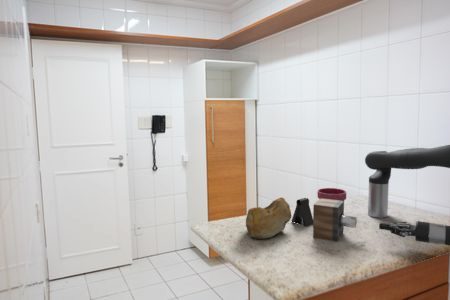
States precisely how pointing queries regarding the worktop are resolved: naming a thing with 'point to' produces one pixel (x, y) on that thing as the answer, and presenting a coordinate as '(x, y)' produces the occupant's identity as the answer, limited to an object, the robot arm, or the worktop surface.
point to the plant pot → (332, 194)
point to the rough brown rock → (268, 219)
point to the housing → (327, 219)
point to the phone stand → (303, 213)
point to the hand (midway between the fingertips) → (379, 225)
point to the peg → (348, 221)
